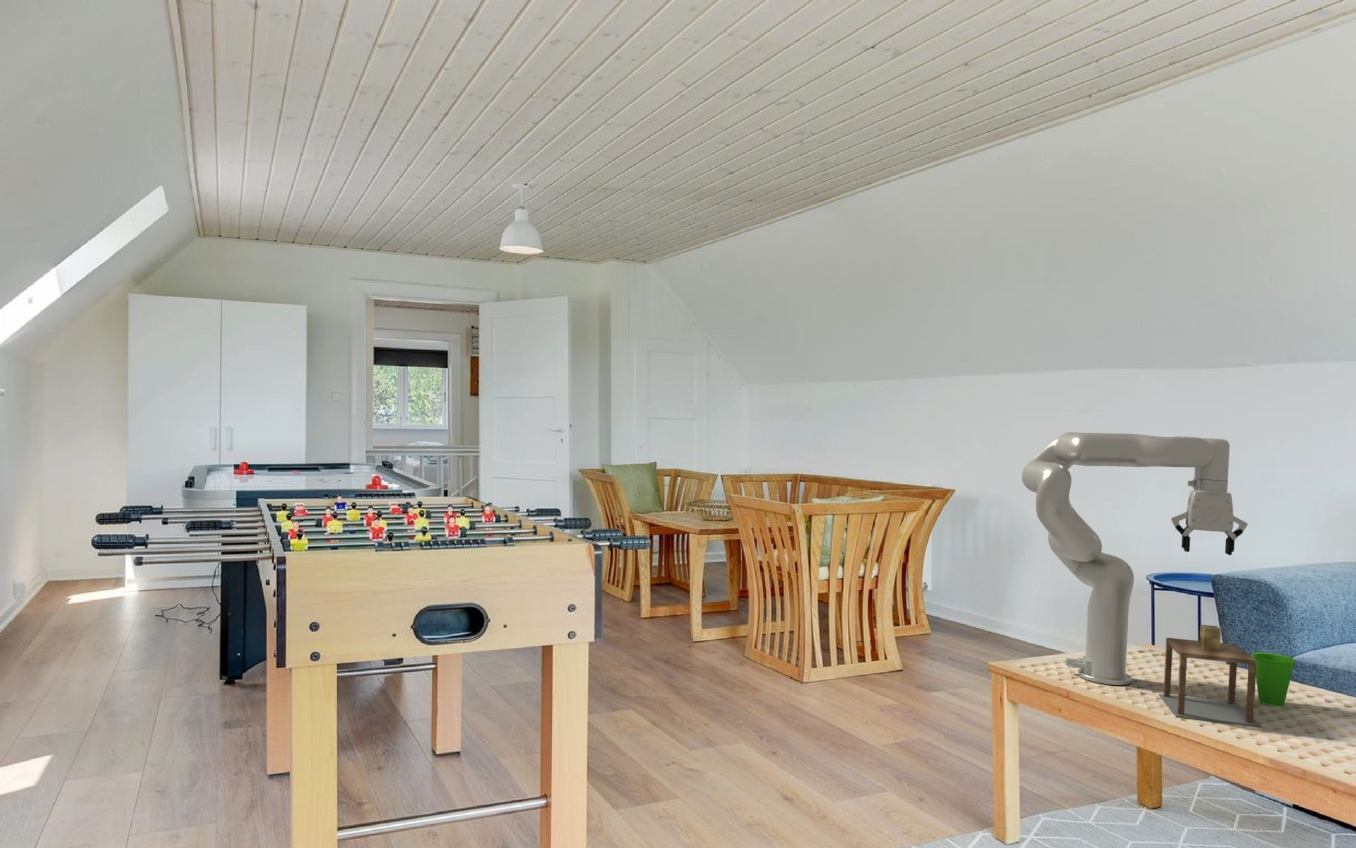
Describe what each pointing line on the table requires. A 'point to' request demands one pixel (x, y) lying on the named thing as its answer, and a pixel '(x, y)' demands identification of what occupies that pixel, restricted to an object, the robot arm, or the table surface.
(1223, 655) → the cover
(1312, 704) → the table surface
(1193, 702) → the mat
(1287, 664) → the cup
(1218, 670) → the table surface
